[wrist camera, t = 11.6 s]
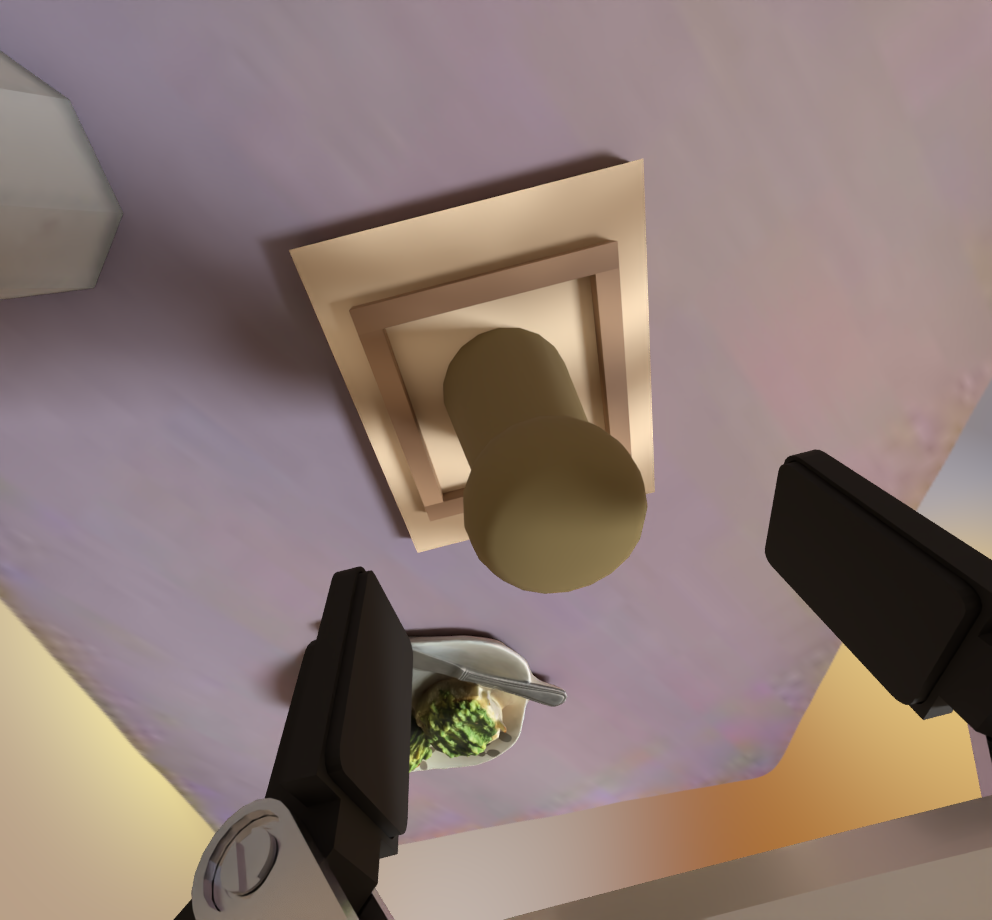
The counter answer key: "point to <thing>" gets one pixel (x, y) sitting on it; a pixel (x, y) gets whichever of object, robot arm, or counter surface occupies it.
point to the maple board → (487, 322)
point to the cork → (538, 467)
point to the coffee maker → (48, 192)
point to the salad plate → (469, 700)
